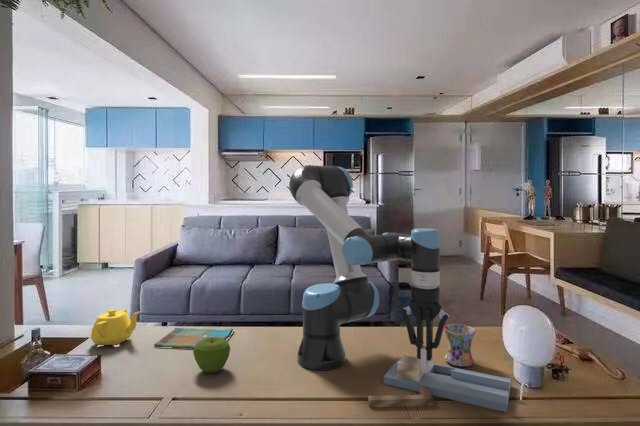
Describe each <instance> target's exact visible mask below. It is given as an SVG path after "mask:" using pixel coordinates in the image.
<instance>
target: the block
mask: <svg viewBox="0 0 640 426" xmlns="http://www.w3.org/2000/svg"><path fill="white" fill-rule="evenodd" d="M401 357H402V358H401V359H400V360H399V361H398V363H397V377H400V378H404V379H409V380H413V381H418V382H419V381H420V379H421V378H422V376H423V375H424V373H421V359H418V358H417V356H412V355H411V356H410V355H407V354H403V356H401Z"/></svg>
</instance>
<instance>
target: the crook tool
mask: <svg viewBox="0 0 640 426" xmlns="http://www.w3.org/2000/svg"><path fill="white" fill-rule="evenodd" d="M434 401H435V400H434V397H433V395H431V394H430V392H429V390H428V389H427V387H419V392H418V394H395V395H394V394H392V395H391V394H390V395H385V394H384V395H368V396H367V404H368V407H369V408H393V407H394V408H399V407H400V408H401V407H404V408H405V406H406V407H434V403H435V402H434Z"/></svg>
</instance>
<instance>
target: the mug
mask: <svg viewBox="0 0 640 426" xmlns="http://www.w3.org/2000/svg"><path fill="white" fill-rule="evenodd" d="M443 331H444V332H445V336H446V340H447V351H446V354H445V355H444V360H445V361H446V362H447V363H448V364H449V365H451V366H456V367H471V366H472V365H474V363H475V361H474V358H473V356H472V342H473V339H474V337H475V334H476V332H477V331H476V329H475V328H473V327H471V326H468V325H464V324H460V323H459V324H455V323H453V324H452V323H451V324H447V325H446V324H445V326H444V329H443Z"/></svg>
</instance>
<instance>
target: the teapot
mask: <svg viewBox="0 0 640 426" xmlns="http://www.w3.org/2000/svg"><path fill="white" fill-rule="evenodd" d="M140 313H142V311H136V312H134V313H133V314H132V316H131V318H130V316H129V314H128V313H127V309H125V308H122V309H120V310H118V311H117V309H114V308H113V309H108V310H107V312H103V313H102V314H100V315H98V317H97V318H96V320H95V322H94V323H93V326H92V328H91V334H90V339H91V341H92V342H93V343H94V344H95V345H104V346H105V345H106V346H107V345H112V346H113V345H118V344H120V345H121V343H123V342H126V341H125V340H127V339H129V338H131V336H132V335H133V332H134V330H135V329H136V327H137V317H138V315H139V314H140Z"/></svg>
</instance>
